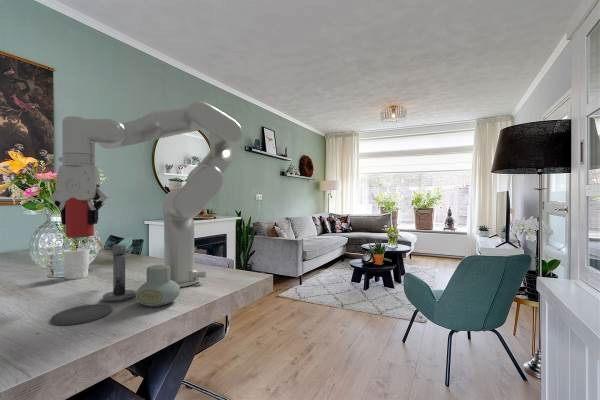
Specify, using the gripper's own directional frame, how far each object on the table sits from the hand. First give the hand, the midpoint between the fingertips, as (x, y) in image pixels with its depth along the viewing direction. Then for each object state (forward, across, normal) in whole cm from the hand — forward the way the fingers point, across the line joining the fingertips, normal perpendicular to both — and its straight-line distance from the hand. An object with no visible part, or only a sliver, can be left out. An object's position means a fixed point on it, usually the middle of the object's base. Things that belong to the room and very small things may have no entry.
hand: (79, 223), depth 87 cm
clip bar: (+9, +8, +9) cm, 15 cm away
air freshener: (+22, +24, -5) cm, 33 cm away
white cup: (+22, -17, +25) cm, 37 cm away
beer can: (+4, 0, 0) cm, 4 cm away
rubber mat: (+21, +9, -13) cm, 27 cm away
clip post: (+21, +11, 0) cm, 24 cm away
